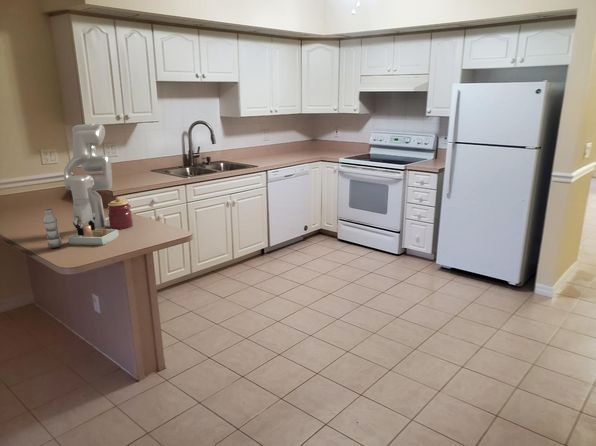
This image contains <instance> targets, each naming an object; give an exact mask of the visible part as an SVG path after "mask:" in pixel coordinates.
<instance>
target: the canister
mask: <svg viewBox="0 0 596 446" xmlns="http://www.w3.org/2000/svg"><path fill="white" fill-rule="evenodd" d="M129 203H130V202H129V201H127V200H126V199H121V198H120V197H118V196H117V197H116V198H115V200H112V201H110V202H109V203H108V204H107V205H108V207H107V208H106V209H107V211H108V213H107V217H108V218H109V220H108V221H109V223H108V224H109V227H110V230H125V229H128V228H129V229H130V228H132V227H133V226H134V221H133V215H132V210H131V205H130V204H129Z"/></svg>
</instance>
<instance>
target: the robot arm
mask: <svg viewBox="0 0 596 446" xmlns="http://www.w3.org/2000/svg"><path fill="white" fill-rule="evenodd" d="M71 132H72V158H71V159H70V160H69V161H68V163H66V165H65V168H64V171H63V185H64V187H65V188H66V190H68V191H71V196H72V202H73V207H72V213H73V221H72V224H73V227H74V228H75V229H76V233H78V236H83V235H84V232H83V228H82V226H84V225H85V224H86V223H87V225H91V230H95V229H108V227H110V225H109V224H110V223H108V221H109V216H107V217H105V211H104V205H103V199H102V196H101V194H99V192H97V191H107V190H111V189H112V188H113V171H112V161H111V159H110V157H109V156H108V155H105V154H100V155H98V154H97V146H101V145H102V143H103V142H104V139H105V136H106V129H105V125H103V124H102V123H90V124H87V123H86V124H85V123H84V124H76V125H74V126H73V127H72V128H71ZM79 166H81V170H82V171H83V172H84V173H88V174H80V175H79V174H78V175H72V173H73V171H74V170H75V169H76V168H78V167H79Z"/></svg>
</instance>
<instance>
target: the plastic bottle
mask: <svg viewBox="0 0 596 446" xmlns="http://www.w3.org/2000/svg"><path fill="white" fill-rule="evenodd" d="M43 212H44V217H43V220H42V222H43V225H44V228H45V231H46V238H47V240H46V241H47V246H48V247H49V248H50V249H56V248H59V247H61V246H62V244H63V243H62V239H61V237H60V233H59V227H58V217H57V216H56V215H55V214H54V211H53V209H52V208H46V209H44V211H43Z"/></svg>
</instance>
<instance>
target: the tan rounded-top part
mask: <svg viewBox="0 0 596 446" xmlns="http://www.w3.org/2000/svg"><path fill="white" fill-rule="evenodd" d="M82 228H83V232H84V235H83V236H82V237H92V231H91V225H88V224H86V225H85V224H83V225H82Z"/></svg>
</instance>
